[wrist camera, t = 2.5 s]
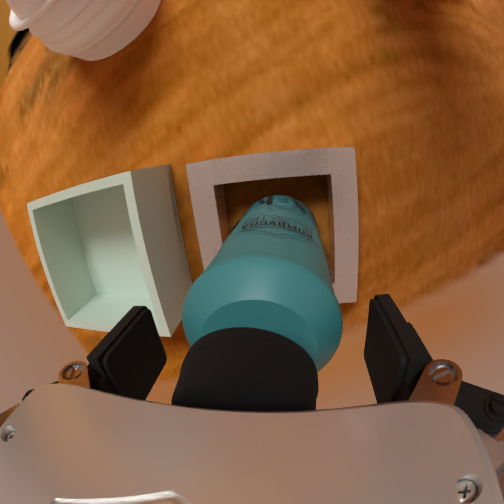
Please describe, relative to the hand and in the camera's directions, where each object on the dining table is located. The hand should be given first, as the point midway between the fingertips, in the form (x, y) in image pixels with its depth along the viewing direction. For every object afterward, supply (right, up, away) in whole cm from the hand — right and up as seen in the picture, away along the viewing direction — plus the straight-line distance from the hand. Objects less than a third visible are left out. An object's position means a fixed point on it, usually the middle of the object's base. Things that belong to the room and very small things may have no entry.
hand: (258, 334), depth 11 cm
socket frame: (+2, +6, +14) cm, 15 cm away
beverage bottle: (+2, +6, +14) cm, 15 cm away
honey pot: (-16, +30, +7) cm, 35 cm away
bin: (-14, +5, +16) cm, 22 cm away
